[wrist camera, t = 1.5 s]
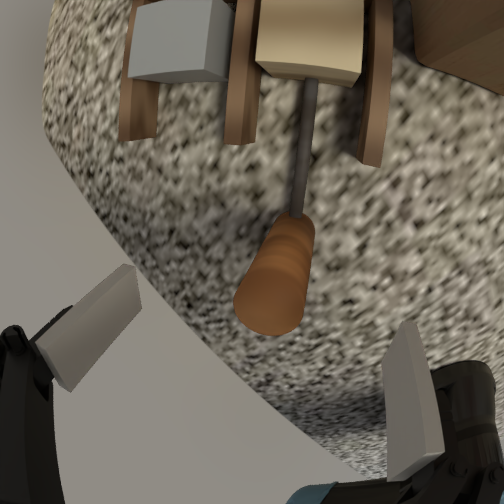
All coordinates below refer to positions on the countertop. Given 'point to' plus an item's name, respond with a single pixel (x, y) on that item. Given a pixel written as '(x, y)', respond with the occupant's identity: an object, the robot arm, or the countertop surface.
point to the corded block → (295, 222)
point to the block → (182, 41)
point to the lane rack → (249, 78)
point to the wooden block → (462, 39)
